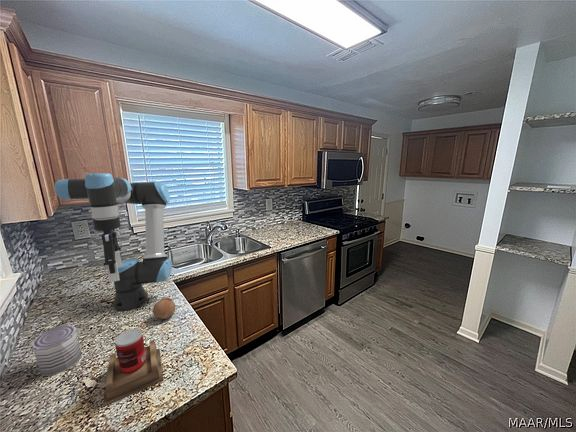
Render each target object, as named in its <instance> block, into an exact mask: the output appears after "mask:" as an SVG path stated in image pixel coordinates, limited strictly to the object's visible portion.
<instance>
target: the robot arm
mask: <svg viewBox="0 0 576 432" xmlns="http://www.w3.org/2000/svg"><path fill="white" fill-rule="evenodd" d="M54 193H55V195H56V196H57V197H58V198H60V199H61V200H70V201H71V200H88V203H89V208H90V209H88V213H91V218H92V219H93V220H92V225H93V230H94V231H96V232H100V231H101V232H102V235H101V240H102V247H103V255H104V262H103V266H106V270H107V276H108V280H109V283H113V285H114V289H115V296H114V301H113V308H114V310H116V311H119V312H121V311H122V312H123V311H124V312H125V311H129V310H134V309H136V308H138V306H139V307H141V306H142V305H144V304H145V303H146V302H147V301H148V300H149V296H148V293H147V291H146V289H145V288H144V286H143V285H144V284H154V283H156V284H157V283H161V282H166V281H168V279H170V276H171V274H172V266H173V263H172V259H170V258H169V256H168V255H167V254H166V253H165V230H164V229H165V227H164V226H165V225H164V223H165V222H164V221H165V220H164V210H165V209H166V208H167V204H169V203H170V202H171V195H170V191H169V189H168V186H167V185H166V184H165V182H162V181H161V182H160V181H159V182H158V181H150V182H148V181H147V182H129V180H127V179H126V178H122V177H113V175H112V174H111V173H107V172H106V173H105V172H104V173H101V172H99V173H98V172H97V173H86V174H85V175H84V178H65V179H58V180H57V181H56V182H55V184H54ZM118 203H123V204H132V205H141V208H143V210H144V211H145V212H144V213H145V215H144V216H145V222H144V223H145V255H144V256H143V257H142V260H141V261H140V260H139V259H138V258H136V257H133V258H127V259H124V260H121V255H120V251H121V250H122V247H121V246H120V245H119V243H118V237H117V234H118V233H117V231H116V230H117V229H119V228H121V226H122V225H121V219H120V217H119V216H120V212H119V206H118ZM147 299H148V300H147ZM140 305H141V306H140ZM133 308H134V309H133Z"/></svg>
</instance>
